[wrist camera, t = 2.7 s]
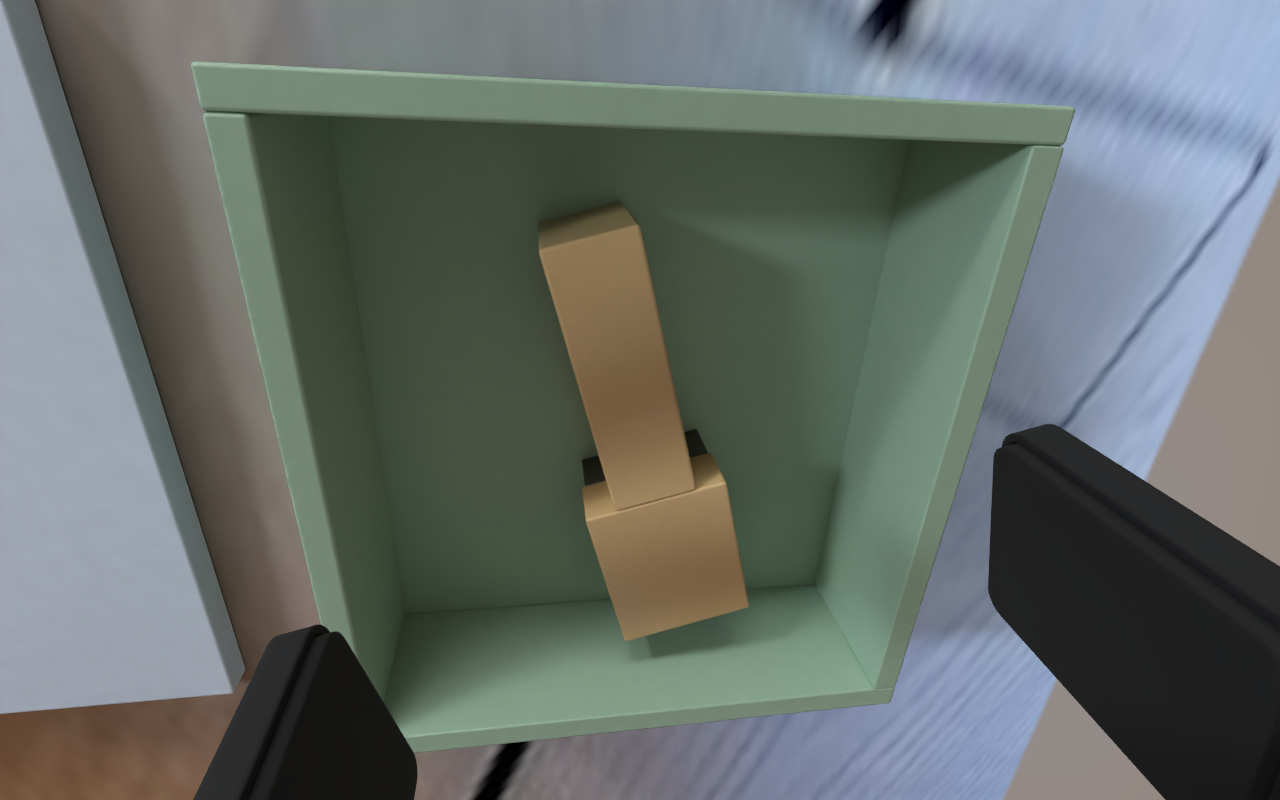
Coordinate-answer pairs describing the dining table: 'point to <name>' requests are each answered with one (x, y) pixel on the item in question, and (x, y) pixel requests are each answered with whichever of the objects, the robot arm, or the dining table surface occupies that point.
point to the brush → (638, 434)
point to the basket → (549, 394)
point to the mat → (85, 440)
